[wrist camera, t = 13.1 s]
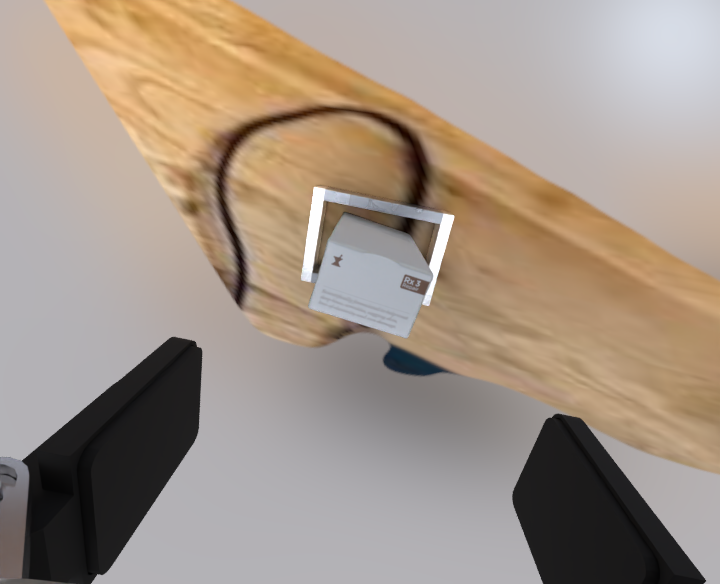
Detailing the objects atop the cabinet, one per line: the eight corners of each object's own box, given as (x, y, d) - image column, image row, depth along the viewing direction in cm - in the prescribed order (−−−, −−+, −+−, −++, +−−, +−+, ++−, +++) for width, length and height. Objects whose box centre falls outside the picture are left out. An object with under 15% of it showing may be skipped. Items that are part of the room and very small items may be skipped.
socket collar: (448, 211, 29) (454, 215, 27) (425, 295, 32) (428, 306, 30) (319, 184, 29) (314, 187, 27) (306, 271, 32) (300, 280, 30)
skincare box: (329, 257, 31) (299, 313, 20) (344, 207, 30) (322, 236, 18) (397, 280, 32) (405, 347, 20) (415, 231, 30) (436, 274, 19)
